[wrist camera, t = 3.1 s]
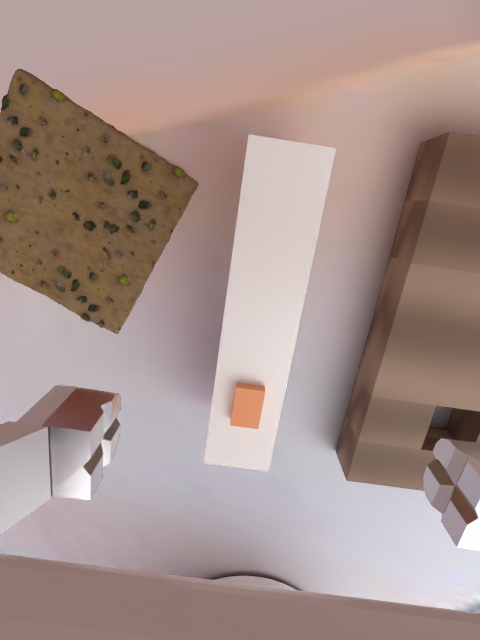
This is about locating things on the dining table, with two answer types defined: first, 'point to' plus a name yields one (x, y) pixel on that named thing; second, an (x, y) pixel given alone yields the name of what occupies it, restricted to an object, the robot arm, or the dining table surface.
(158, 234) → the seeded crispbread
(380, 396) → the socket board
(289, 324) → the power strip
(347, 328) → the dining table surface
